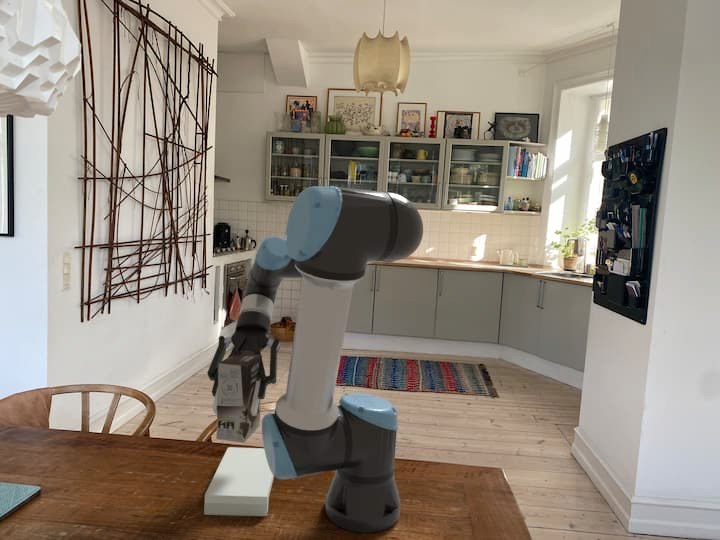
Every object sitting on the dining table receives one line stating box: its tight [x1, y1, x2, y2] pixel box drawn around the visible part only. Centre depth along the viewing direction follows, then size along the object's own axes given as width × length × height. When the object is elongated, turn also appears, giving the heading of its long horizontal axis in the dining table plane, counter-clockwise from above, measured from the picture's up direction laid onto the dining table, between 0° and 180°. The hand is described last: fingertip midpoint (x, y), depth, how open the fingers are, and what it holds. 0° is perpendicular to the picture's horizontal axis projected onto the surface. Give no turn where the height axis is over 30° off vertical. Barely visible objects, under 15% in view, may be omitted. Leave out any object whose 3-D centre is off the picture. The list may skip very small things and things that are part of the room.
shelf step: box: [203, 446, 275, 517], centre depth 103 cm, size 12×20×4 cm, turn 3°
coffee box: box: [215, 353, 263, 444], centre depth 102 cm, size 9×6×16 cm
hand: (234, 411), depth 98 cm, fingers closed on coffee box, 7 cm apart
